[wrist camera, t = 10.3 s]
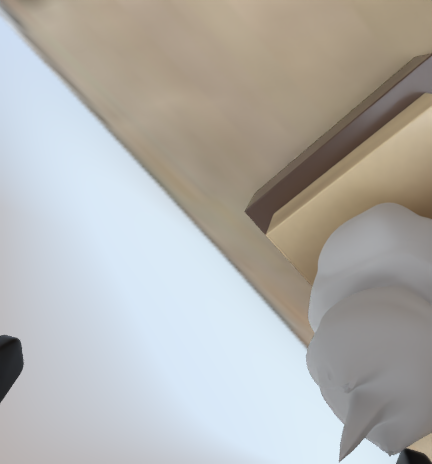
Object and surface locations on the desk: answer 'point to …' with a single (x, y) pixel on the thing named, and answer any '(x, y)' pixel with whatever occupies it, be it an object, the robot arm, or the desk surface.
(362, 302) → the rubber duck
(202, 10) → the desk surface
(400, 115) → the memo paper holder
